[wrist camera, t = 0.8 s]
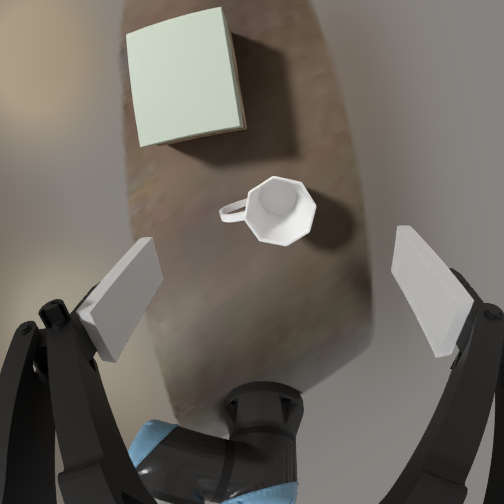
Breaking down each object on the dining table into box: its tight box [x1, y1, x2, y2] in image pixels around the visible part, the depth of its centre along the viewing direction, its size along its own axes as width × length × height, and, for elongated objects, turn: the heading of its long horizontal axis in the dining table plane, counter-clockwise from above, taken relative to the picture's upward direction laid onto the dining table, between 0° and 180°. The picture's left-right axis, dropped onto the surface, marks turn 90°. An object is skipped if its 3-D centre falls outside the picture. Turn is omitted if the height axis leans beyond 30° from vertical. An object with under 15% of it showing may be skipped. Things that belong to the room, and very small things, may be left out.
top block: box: [126, 7, 244, 147], centre depth 24 cm, size 13×10×4 cm
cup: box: [219, 176, 316, 246], centre depth 31 cm, size 7×10×8 cm
